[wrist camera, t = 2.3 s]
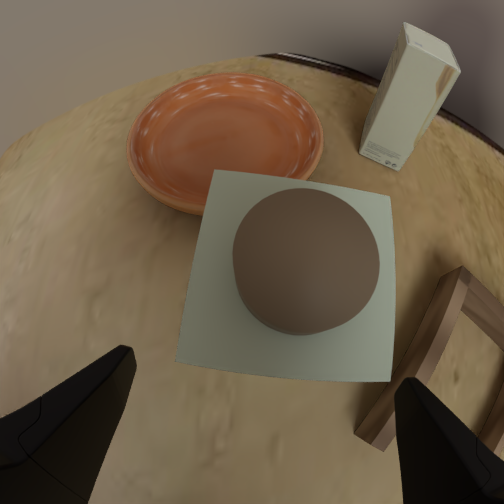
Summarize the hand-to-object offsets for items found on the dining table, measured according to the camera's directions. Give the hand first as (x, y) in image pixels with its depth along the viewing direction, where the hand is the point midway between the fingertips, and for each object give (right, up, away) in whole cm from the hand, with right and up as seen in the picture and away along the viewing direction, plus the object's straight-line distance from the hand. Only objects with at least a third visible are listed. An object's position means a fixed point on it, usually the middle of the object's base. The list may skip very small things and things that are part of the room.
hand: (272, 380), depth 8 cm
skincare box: (+12, +15, +16) cm, 25 cm away
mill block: (0, -1, +10) cm, 10 cm away
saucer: (-3, +13, +16) cm, 21 cm away
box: (+16, -7, +8) cm, 19 cm away
